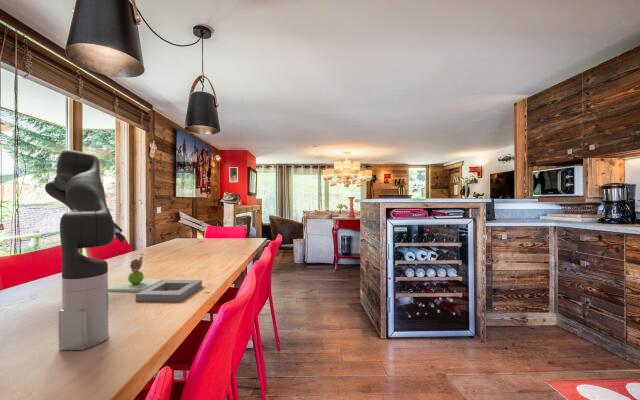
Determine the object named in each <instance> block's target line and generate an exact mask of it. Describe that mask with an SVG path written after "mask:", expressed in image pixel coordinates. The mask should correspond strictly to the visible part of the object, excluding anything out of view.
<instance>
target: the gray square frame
mask: <svg viewBox="0 0 640 400" xmlns="http://www.w3.org/2000/svg"><path fill="white" fill-rule="evenodd" d="M202 287H203V280H202V279H200V280H199V279H197V280H196V279H193V280H192V279H190V280H189V279H188V280H187V279H163V281H161V282H159V283H157V284H155V285H153V286H151V287H149V288H147V289H145V290H143V291H141V292H136V293H135V295H134V296H135V297H134V299H135V302H158V303H159V302H168V303H169V302H172V303H173V302H174V303H176V302H177V303H178V302H179V303H180V302H182V301H183V300H184V299H185V298H187V297H188V296H190V295H191V294H193V293H195V292H196V291H197V290H199V289H200V288H202Z"/></svg>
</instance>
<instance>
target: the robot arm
mask: <svg viewBox="0 0 640 400" xmlns="http://www.w3.org/2000/svg"><path fill="white" fill-rule="evenodd" d="M56 163H57V164H56V175H55V177H54V180H52V181H49V182H47V183H46V184H45V185H44V190H45V192H46V194H47V195H49V196H50V197H51V198H53V199H55V200H56V201H59V202H61V203H63V204H64V205H65V206H67V207H68V208H69V210H70V211H69V212H65V213H63V214H62V216H61V218H60V220H59V235H60V237H59V238H60V247H61V309H60V310H59V311H58V312H57V313H58V350H59V351H84V350H86V349H88V348H91V347H96V346H98V345H99V344H102V343H103V342H104V341H107V339H108V338H109V292H108V289H109V265H108V262H107V261H106V260H104V259H100V258H94V257H91V256H86V255H83V254H82V253H80V252H79V249H87V248H99V247H104V246H105V247H106V246H109V245H110V244H111V243H112V242H113V240H114V237H115V238H116V239H117V241H119V242H120V243H123V242H125V241H126V237H125V236H124V235H123V229H122V228H121V227H120V226H119V225H118V224H117V223H116V222H114V219H113V216H112V214H111V211H110V208H109V207H108V204H107V200H106V193H105V189H104V185H103V183H102V179H101V172H100V170H101V169H100V161H99V158H98V157H97V155H94V154H93V153H92V154H91V153H89V152H88V153H87V152H84V151H78V150H73V149H65V150H62V151H61V153H60V154H59V156H58V158H57V162H56Z"/></svg>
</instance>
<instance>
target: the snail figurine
mask: <svg viewBox="0 0 640 400" xmlns="http://www.w3.org/2000/svg"><path fill="white" fill-rule="evenodd" d="M139 255H140V256H139V258H134V259H133V260H131V262H130V264H129V266H130V269H131V270H130V271H131V272H130V273H129V275H128V277H127V281H129V282H130V283H131V284H139V283H141V282H142V280H143V279H145V278H144V274H143V271H140V270H141V268H142V266H143V260H144V257H143V256H144V253H140V254H139Z"/></svg>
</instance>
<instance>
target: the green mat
mask: <svg viewBox="0 0 640 400" xmlns="http://www.w3.org/2000/svg"><path fill="white" fill-rule="evenodd" d="M163 280H164V279H158V278H155V279H154V278H153V279H151V278H150V279H149V278H148V279H147V278H146V279H145V278H143V280H142V282H141V283H139V284H131V283H130V282H129V280H126V281H124V282H121V283H119V284H117V285H115V286H111V287H108V293H109V292H111V293H113V292H117V293H120V292H121V293H122V292H123V293H139V292H141V291H143V290H145V289H147V288H149V287H151V286H153V285H155V284H157V283H159V282H161V281H163Z"/></svg>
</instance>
